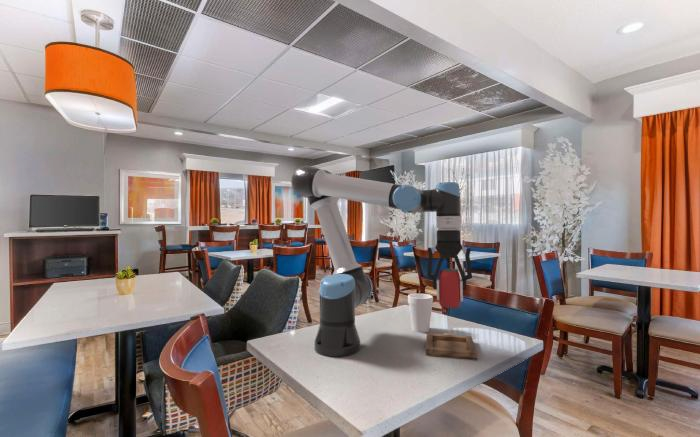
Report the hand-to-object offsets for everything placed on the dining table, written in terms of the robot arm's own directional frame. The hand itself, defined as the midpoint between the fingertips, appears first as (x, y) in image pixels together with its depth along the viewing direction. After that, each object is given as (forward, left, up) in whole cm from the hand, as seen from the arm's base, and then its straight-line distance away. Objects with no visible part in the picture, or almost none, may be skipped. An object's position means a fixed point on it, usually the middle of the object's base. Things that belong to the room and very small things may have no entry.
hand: (449, 299), depth 107 cm
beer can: (0, 0, -2) cm, 2 cm away
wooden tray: (0, 0, -16) cm, 16 cm away
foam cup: (-10, +17, -16) cm, 26 cm away
